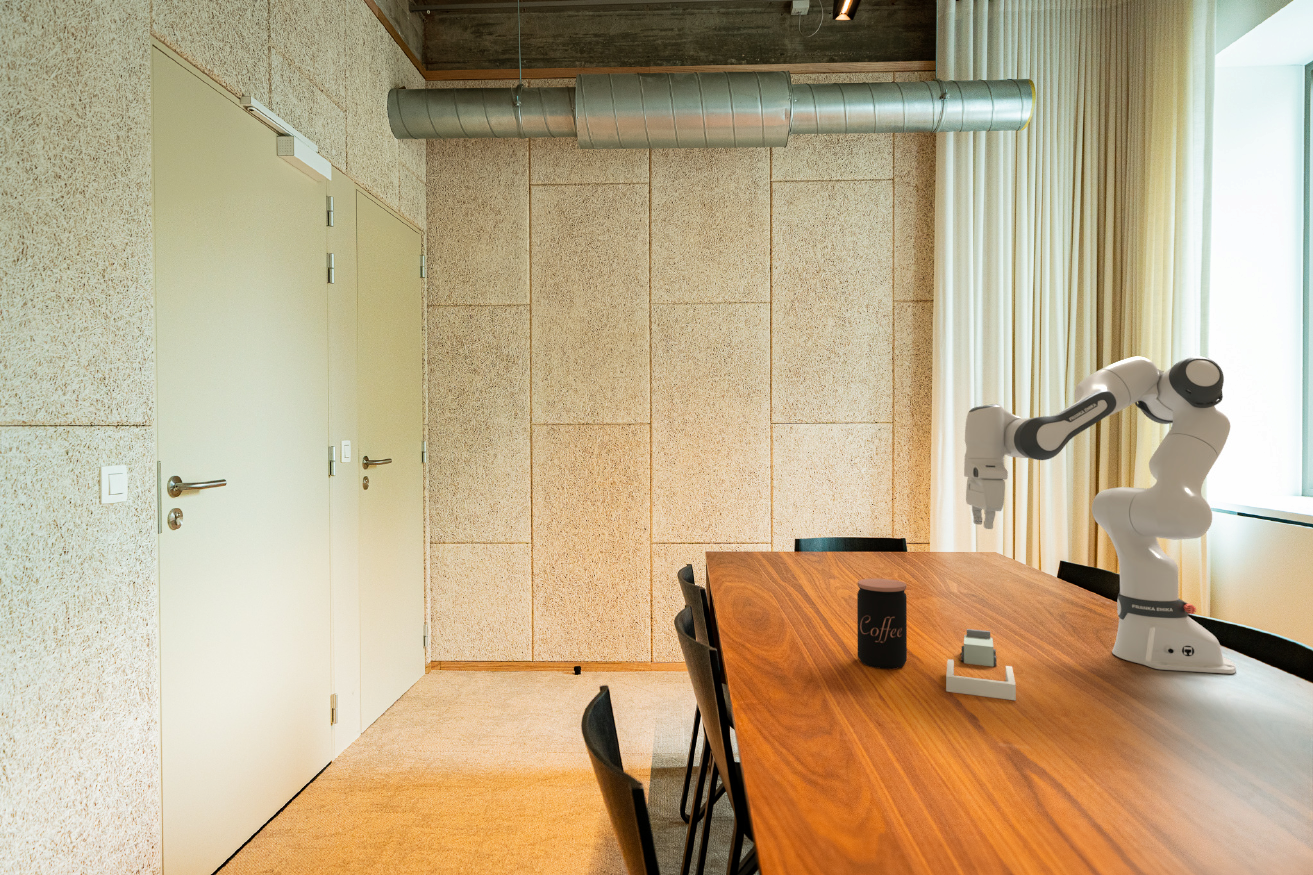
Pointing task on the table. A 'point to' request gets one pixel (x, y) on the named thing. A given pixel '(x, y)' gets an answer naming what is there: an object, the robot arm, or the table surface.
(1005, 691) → the dock bay
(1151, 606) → the robot arm
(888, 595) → the coffee jar
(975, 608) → the table surface
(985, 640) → the sage cart
